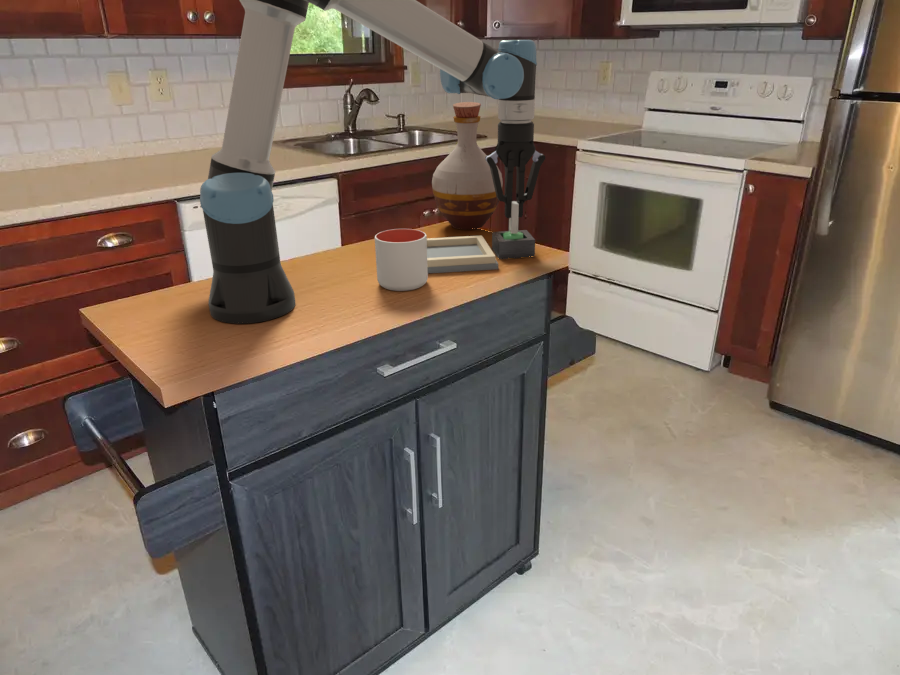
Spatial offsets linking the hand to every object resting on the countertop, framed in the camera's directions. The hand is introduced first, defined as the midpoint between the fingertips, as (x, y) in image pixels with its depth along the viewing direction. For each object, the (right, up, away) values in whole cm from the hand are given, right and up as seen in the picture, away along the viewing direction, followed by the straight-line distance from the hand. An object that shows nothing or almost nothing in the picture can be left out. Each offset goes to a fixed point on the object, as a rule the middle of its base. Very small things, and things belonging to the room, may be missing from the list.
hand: (513, 231), depth 148 cm
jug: (-9, +6, +25) cm, 27 cm away
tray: (-13, -6, -1) cm, 15 cm away
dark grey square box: (0, -5, +2) cm, 5 cm away
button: (0, -3, +2) cm, 4 cm away
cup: (-23, -13, -15) cm, 31 cm away
